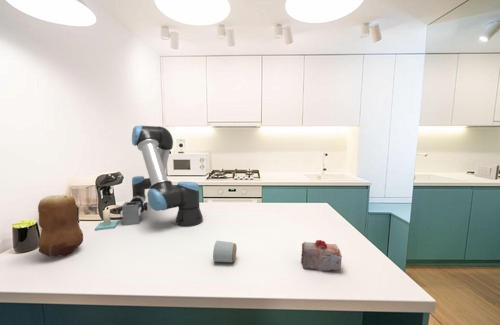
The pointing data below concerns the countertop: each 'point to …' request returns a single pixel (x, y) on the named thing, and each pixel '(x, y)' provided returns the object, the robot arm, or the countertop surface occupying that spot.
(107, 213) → the shaft post
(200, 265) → the countertop surface
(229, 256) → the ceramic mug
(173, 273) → the countertop surface
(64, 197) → the butternut squash
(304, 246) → the food item
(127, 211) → the gray box
